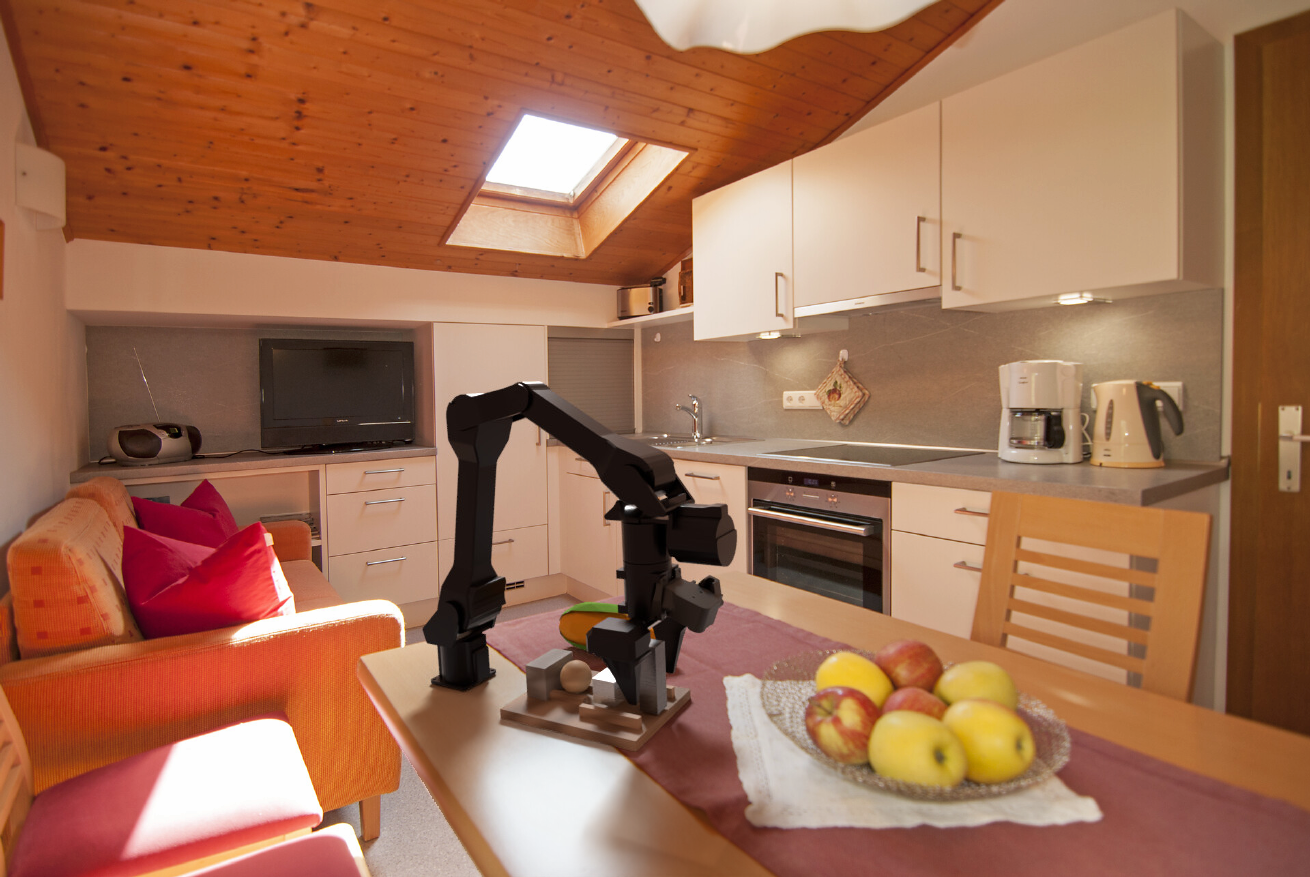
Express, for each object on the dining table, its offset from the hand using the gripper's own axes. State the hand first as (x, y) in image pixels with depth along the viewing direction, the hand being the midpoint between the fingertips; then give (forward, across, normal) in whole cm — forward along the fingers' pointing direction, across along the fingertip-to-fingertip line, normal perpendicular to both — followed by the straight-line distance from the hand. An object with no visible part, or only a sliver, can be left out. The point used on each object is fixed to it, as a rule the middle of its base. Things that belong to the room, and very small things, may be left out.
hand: (652, 687), depth 83 cm
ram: (+2, 0, +3) cm, 4 cm away
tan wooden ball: (0, 0, +11) cm, 11 cm away
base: (+4, 0, +8) cm, 9 cm away
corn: (+4, +17, +15) cm, 23 cm away
